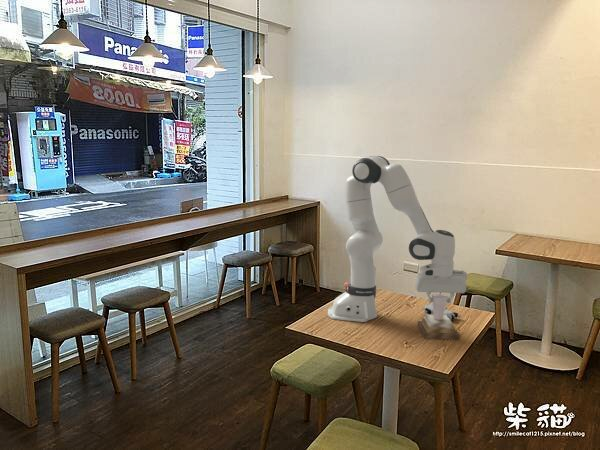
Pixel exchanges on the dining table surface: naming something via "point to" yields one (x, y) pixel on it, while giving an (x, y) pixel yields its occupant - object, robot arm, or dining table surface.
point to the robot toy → (450, 314)
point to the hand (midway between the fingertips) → (439, 302)
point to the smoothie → (439, 305)
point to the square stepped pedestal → (437, 328)
